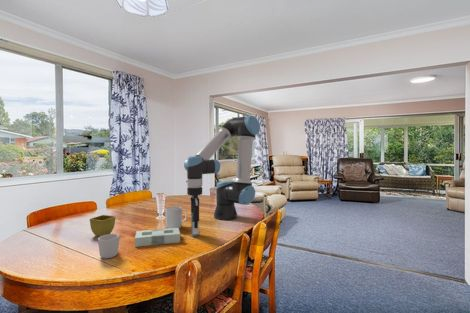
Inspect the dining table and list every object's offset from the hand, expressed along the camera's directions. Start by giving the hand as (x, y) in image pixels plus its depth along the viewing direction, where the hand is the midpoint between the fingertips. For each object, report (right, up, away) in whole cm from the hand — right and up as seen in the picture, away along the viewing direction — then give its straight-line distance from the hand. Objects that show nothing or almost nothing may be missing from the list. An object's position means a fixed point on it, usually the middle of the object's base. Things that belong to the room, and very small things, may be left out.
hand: (194, 232), depth 129 cm
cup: (-32, -3, -23) cm, 39 cm away
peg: (0, -2, 0) cm, 2 cm away
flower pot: (-47, -2, +1) cm, 47 cm away
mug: (-13, -2, +14) cm, 19 cm away
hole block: (-17, -2, -7) cm, 18 cm away
